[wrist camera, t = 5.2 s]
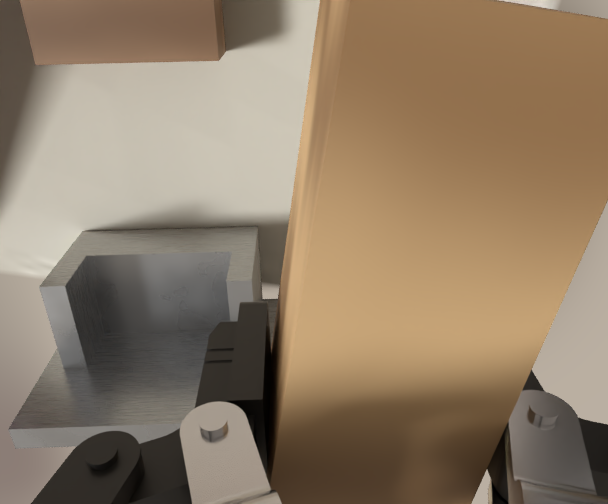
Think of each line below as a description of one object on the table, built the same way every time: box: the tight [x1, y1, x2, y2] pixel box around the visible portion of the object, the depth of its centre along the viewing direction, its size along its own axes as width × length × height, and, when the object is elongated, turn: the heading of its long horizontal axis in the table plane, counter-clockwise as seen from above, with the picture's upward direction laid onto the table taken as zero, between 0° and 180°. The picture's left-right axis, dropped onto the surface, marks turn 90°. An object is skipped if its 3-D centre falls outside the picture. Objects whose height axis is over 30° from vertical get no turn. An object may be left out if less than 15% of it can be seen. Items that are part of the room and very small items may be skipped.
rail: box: [266, 0, 608, 504], centre depth 12 cm, size 16×4×5 cm, turn 172°
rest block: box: [20, 0, 226, 65], centre depth 23 cm, size 4×8×3 cm, turn 91°
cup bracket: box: [8, 226, 278, 448], centre depth 27 cm, size 6×12×10 cm, turn 91°
